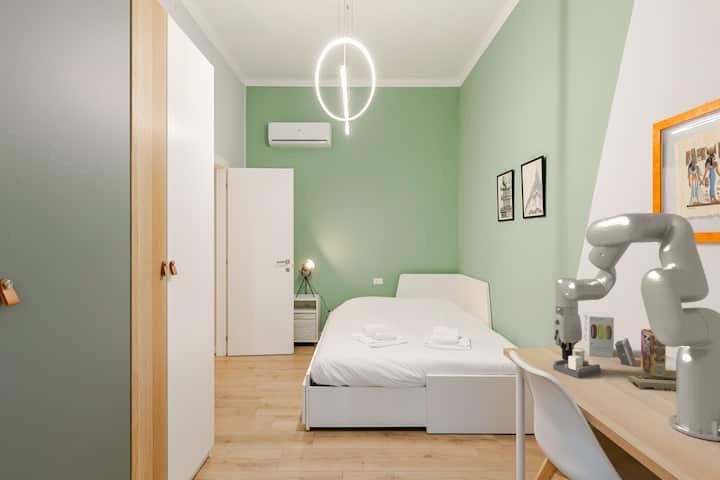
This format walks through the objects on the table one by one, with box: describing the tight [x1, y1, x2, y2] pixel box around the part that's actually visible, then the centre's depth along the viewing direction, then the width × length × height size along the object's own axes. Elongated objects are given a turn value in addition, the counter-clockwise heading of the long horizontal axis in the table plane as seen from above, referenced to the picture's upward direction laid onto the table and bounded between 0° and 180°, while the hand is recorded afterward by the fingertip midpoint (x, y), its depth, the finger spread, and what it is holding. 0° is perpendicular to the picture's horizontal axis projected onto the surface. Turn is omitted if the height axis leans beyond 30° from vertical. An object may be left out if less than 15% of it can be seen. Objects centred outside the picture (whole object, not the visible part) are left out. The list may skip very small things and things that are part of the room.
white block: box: [568, 355, 583, 370], centre depth 147 cm, size 3×4×4 cm
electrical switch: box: [614, 337, 636, 367], centre depth 161 cm, size 9×5×9 cm, turn 141°
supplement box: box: [583, 312, 615, 358], centre depth 173 cm, size 10×9×17 cm
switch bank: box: [552, 359, 602, 379], centre depth 151 cm, size 10×12×3 cm
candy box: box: [640, 328, 667, 377], centre depth 149 cm, size 9×4×15 cm, turn 171°
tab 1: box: [572, 348, 585, 361], centre depth 155 cm, size 3×4×4 cm
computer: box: [627, 375, 676, 392], centre depth 136 cm, size 16×8×3 cm, turn 79°
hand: (567, 359), depth 152 cm, fingers closed
